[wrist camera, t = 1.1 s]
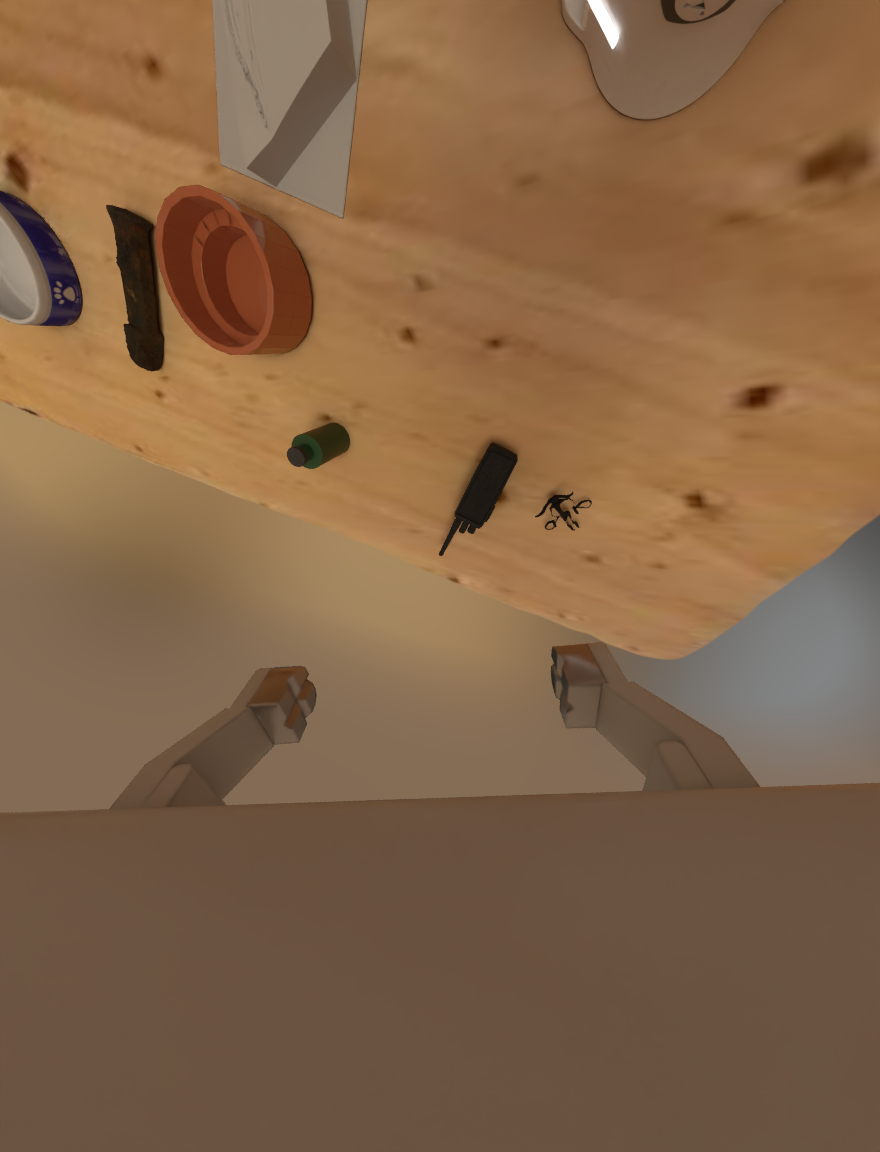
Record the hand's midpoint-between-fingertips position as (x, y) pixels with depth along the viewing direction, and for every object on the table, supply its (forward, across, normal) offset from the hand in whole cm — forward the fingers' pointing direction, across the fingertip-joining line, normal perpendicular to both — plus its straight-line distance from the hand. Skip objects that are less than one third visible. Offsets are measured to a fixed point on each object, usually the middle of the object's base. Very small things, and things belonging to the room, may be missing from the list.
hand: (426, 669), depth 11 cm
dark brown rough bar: (+54, +41, -25) cm, 72 cm away
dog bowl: (+58, +60, -32) cm, 89 cm away
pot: (+50, +23, -23) cm, 60 cm away
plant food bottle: (+51, +18, -3) cm, 54 cm away
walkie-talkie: (+47, -4, +10) cm, 48 cm away
